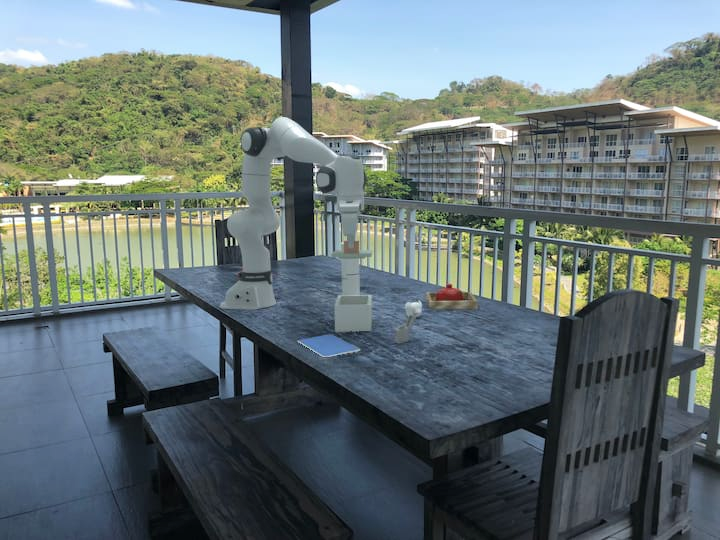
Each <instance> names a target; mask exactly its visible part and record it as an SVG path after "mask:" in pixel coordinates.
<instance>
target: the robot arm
mask: <svg viewBox="0 0 720 540" xmlns="http://www.w3.org/2000/svg"><path fill="white" fill-rule="evenodd" d="M240 147H241V149H242V151H243V153H244V155H243V159H242V164H241V165H242V166H241V189H240V190H241V191H240V193H241V194H242V196H243V197H244V198H246V199H245V200H247V202H248V209H244V210H243V209H242V210H239V211H236V212H234V213H231V214H230V215H229V217H228V218H227V220H226V221H227V223H226V226H227V230H228V233H229V234H230V235H231V236H232V237H233V238H234V239H235V240H236V241H237V244H238V246H239V249H240V253H241V263H242V270H240V271H239V272H238V273H237V278H238V281H237V282H235V283H234V284H233V285H232V286H231V287H230V288H229V289H228V290H227V291H226V293H225V296H224V297H225V298H224V299H225V300H223V301H222V302H220V304H219V308H220V309H222V310H223V309H224V310H225V309H226V310H228V309H229V310H244V311H245V310H246V311H247V310H249V311H251V310H252V311H255V310H259V309H263V308H271V307H272V306H275V305H277V301H276V299H275V294H274V289H273V270H272V269H271V252H270V250H269V249H268V248H267V247H266V246H265V245H264V243H263V240H262V236H268V235H271V234H273V233H275V232H276V231H277V230H279V227H280V226H281V225H280V224H281V219H280V218H281V217H280V215H279V214H278V212H277V211H276V210H275V209H274V206H273V203H272V198H271V164H272V161H273V160H274V159H276V160H278V161H281V160H283V159H287V158H289V159H291V160H293V161H295V162H298V163H307V164H308V163H309V164H314V165H315V164H317V165H321V167H320V168H319V169H318V170H317V172H316V176H315V184H316V187H317V189H318V190H319V191H320V192H321V194H326V195H336V210H337V211H338V212H339V213H340V216H341V217H340V218H341V226H342V228H341V229H342V233H343V237H346V238H347V241H348V248H354V241H356V238H355V237H356V234H357V232H358V229H359V216H361V211H364V210H365V192H364V189H365V187H366V185H367V182H368V177H367V173H366V171H365V170H364V164H363V160H362V158H361V156H359V155H357V154H353V153H338V152H337V151H336V150H334V149H333V148H331V147H329V146H328V145H326V144H325V143H323V142H321V141H320V140H319V139H317V138H316V137H314V136H313V135H311V134H310V133H309V132H308V131H307V130H306V129H304V128H303V126H301V125H300V124H299V123H297V122H296V121H294V120H292V119H290V118H289V117H286V116H285V117H284V116H281V117H277V118H276V119H274V120H273V121H272V123H271V125H270V127H263V126H253V127H249V128H246V129H244V131H243V133H241V137H240Z"/></svg>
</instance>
